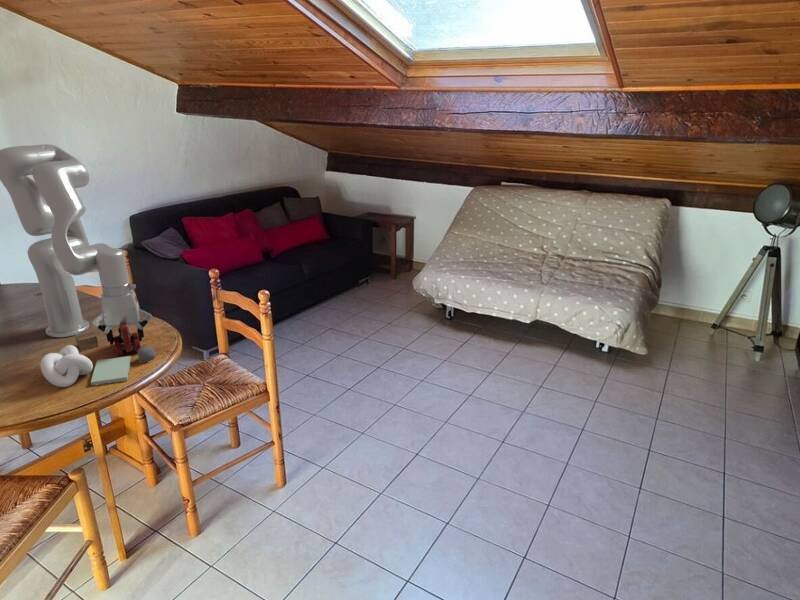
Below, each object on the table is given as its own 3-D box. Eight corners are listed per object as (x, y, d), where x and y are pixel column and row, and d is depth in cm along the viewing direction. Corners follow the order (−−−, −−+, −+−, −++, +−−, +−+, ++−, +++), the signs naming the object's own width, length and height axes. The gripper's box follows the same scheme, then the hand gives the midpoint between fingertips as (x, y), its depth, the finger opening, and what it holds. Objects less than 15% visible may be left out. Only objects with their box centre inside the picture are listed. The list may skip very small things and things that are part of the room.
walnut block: (77, 345, 164) (75, 334, 162) (95, 341, 167) (92, 330, 165) (80, 351, 160) (78, 340, 159) (98, 347, 163) (96, 336, 162)
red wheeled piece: (137, 339, 169) (132, 310, 165) (142, 355, 159) (137, 324, 155) (114, 343, 166) (108, 314, 162) (117, 360, 156) (111, 329, 152)
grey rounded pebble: (140, 357, 158) (138, 347, 157) (155, 355, 159) (153, 345, 158) (138, 364, 154) (136, 353, 153) (154, 362, 156) (152, 351, 154)
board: (98, 363, 153) (97, 360, 153) (131, 359, 157) (130, 355, 156) (91, 385, 142) (90, 382, 142) (127, 380, 145) (126, 377, 145)
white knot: (39, 377, 145) (32, 349, 142) (86, 364, 153) (80, 337, 150) (49, 394, 138) (41, 365, 135) (98, 379, 146) (92, 351, 142)
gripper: (149, 282, 161) (157, 332, 168) (85, 288, 155) (97, 339, 161) (147, 290, 154) (156, 342, 161) (81, 296, 148) (93, 350, 155)
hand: (126, 340), depth 161 cm, fingers closed on red wheeled piece, 7 cm apart
